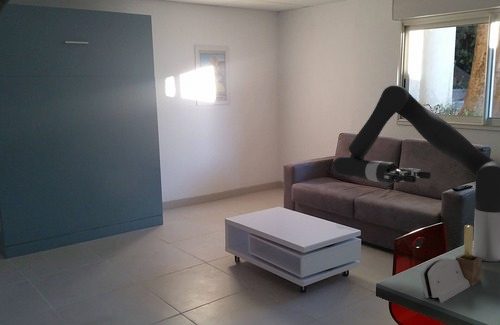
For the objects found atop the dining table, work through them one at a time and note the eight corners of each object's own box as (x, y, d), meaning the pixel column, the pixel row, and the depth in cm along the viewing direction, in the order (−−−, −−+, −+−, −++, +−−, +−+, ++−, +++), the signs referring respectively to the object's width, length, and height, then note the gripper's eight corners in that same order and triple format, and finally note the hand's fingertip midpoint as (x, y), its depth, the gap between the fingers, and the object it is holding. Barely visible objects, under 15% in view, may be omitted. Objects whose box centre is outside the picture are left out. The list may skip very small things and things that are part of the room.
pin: (465, 270, 142) (466, 224, 139) (473, 272, 140) (474, 226, 138) (462, 273, 140) (462, 226, 138) (469, 275, 139) (470, 227, 136)
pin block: (463, 275, 144) (464, 253, 143) (480, 281, 140) (481, 257, 139) (454, 280, 141) (455, 257, 140) (472, 286, 137) (473, 262, 136)
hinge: (441, 303, 127) (430, 267, 128) (426, 303, 131) (416, 268, 132) (470, 286, 137) (460, 253, 138) (456, 286, 141) (446, 254, 142)
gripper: (369, 164, 158) (410, 169, 146) (393, 159, 167) (434, 163, 154) (369, 185, 159) (410, 192, 147) (393, 179, 168) (434, 185, 155)
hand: (422, 177), depth 151 cm, fingers open, 8 cm apart
